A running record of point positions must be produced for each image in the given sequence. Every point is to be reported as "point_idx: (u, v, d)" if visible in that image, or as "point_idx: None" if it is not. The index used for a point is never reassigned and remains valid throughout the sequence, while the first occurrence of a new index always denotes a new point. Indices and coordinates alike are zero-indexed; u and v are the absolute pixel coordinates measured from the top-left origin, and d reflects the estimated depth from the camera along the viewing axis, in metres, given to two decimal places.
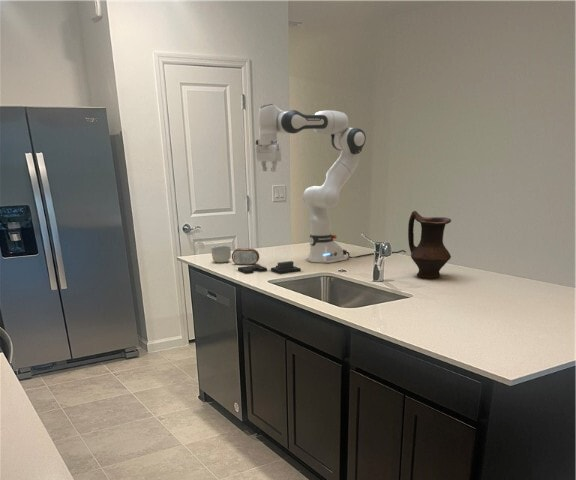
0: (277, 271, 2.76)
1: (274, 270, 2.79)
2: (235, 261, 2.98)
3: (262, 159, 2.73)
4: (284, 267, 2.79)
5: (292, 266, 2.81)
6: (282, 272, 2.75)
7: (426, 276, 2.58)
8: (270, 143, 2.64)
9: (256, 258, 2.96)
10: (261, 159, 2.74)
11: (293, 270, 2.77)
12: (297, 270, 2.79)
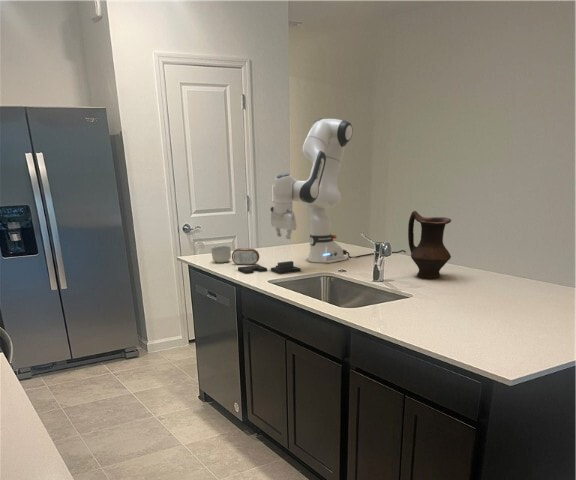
0: (277, 271, 2.76)
1: (274, 270, 2.79)
2: (235, 261, 2.98)
3: (277, 225, 2.75)
4: (284, 267, 2.79)
5: (292, 266, 2.81)
6: (282, 272, 2.75)
7: (426, 276, 2.58)
8: (285, 212, 2.66)
9: (256, 258, 2.96)
10: (276, 225, 2.76)
11: (293, 270, 2.77)
12: (297, 270, 2.79)
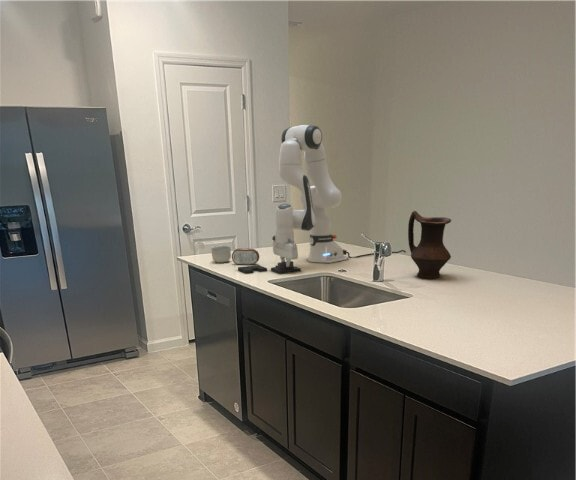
0: (277, 271, 2.76)
1: (274, 270, 2.79)
2: (235, 261, 2.98)
3: (279, 254, 2.80)
4: (284, 267, 2.79)
5: (292, 266, 2.81)
6: (282, 272, 2.75)
7: (426, 276, 2.58)
8: (287, 241, 2.71)
9: (256, 258, 2.96)
10: (278, 254, 2.81)
11: (293, 270, 2.77)
12: (297, 270, 2.79)
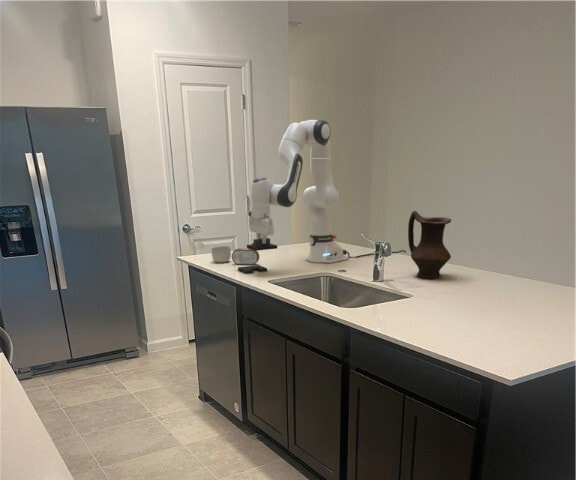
0: (253, 248, 2.65)
1: (250, 247, 2.68)
2: (235, 261, 2.98)
3: (255, 230, 2.69)
4: (260, 244, 2.68)
5: (269, 243, 2.70)
6: (258, 249, 2.64)
7: (426, 276, 2.58)
8: (263, 217, 2.60)
9: (256, 258, 2.96)
10: (254, 230, 2.70)
11: (269, 247, 2.67)
12: (274, 247, 2.68)
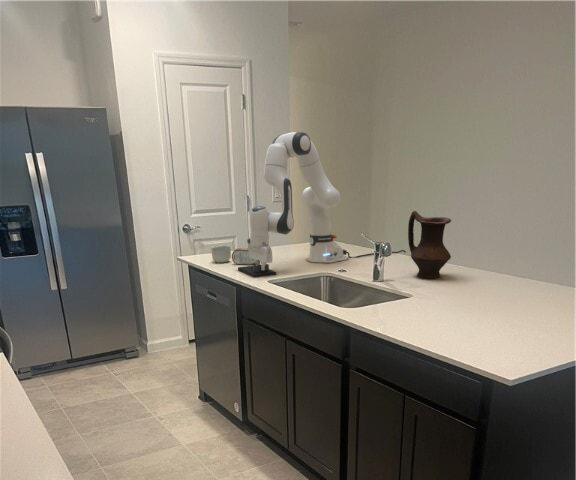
0: (252, 274, 2.70)
1: (249, 273, 2.73)
2: (235, 261, 2.98)
3: (254, 257, 2.74)
4: (259, 270, 2.72)
5: (267, 269, 2.74)
6: (257, 275, 2.69)
7: (426, 276, 2.58)
8: (261, 244, 2.65)
9: None
10: (253, 257, 2.75)
11: (268, 273, 2.71)
12: (272, 273, 2.72)
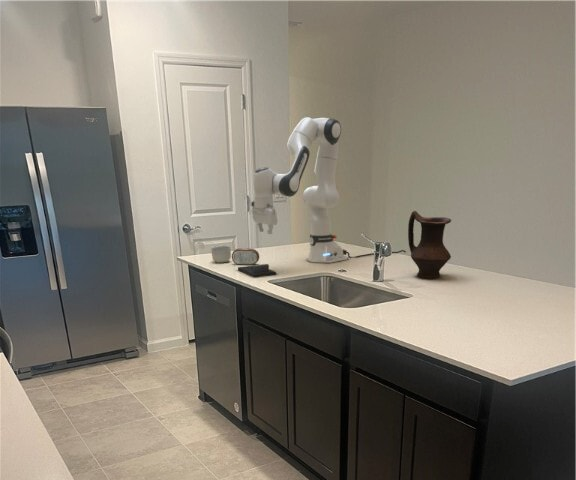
0: (252, 274, 2.70)
1: (249, 273, 2.73)
2: (235, 261, 2.98)
3: (258, 220, 2.71)
4: (259, 270, 2.72)
5: (267, 269, 2.74)
6: (257, 275, 2.69)
7: (426, 276, 2.58)
8: (266, 206, 2.62)
9: (256, 258, 2.96)
10: (257, 220, 2.72)
11: (268, 273, 2.71)
12: (272, 273, 2.72)
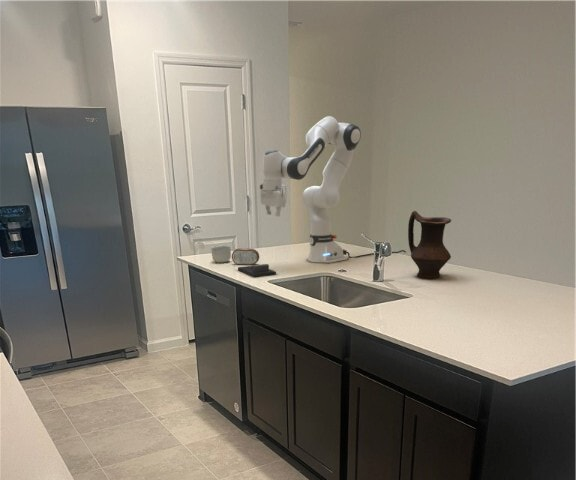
0: (252, 274, 2.70)
1: (249, 273, 2.73)
2: (235, 261, 2.98)
3: (266, 203, 2.74)
4: (259, 270, 2.72)
5: (267, 269, 2.74)
6: (257, 275, 2.69)
7: (426, 276, 2.58)
8: (274, 189, 2.65)
9: (256, 258, 2.96)
10: (265, 203, 2.75)
11: (268, 273, 2.71)
12: (272, 273, 2.72)
